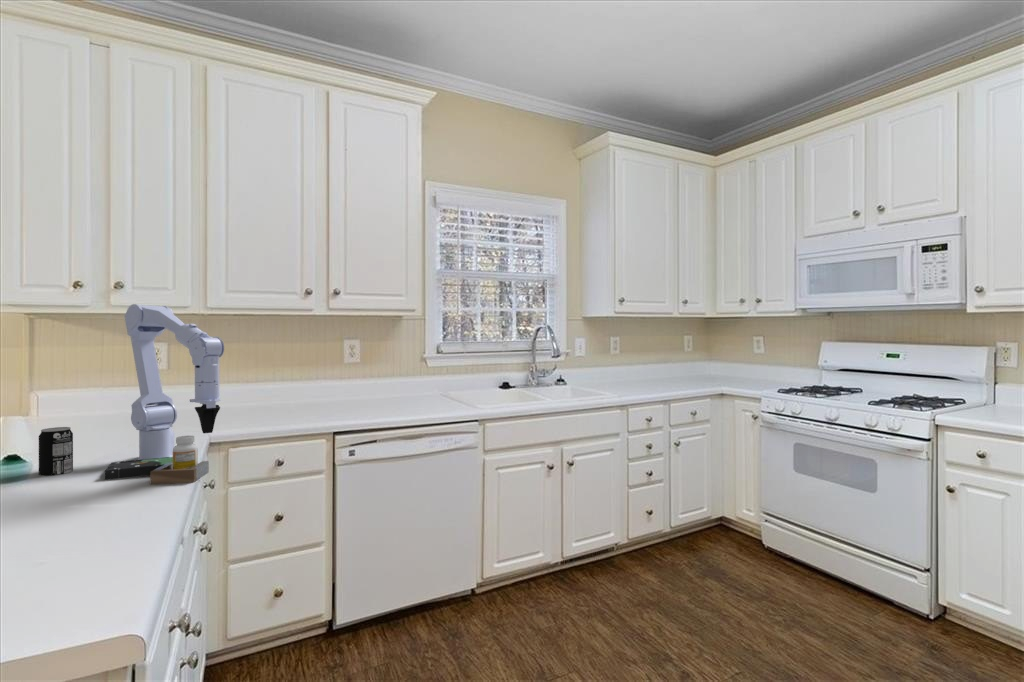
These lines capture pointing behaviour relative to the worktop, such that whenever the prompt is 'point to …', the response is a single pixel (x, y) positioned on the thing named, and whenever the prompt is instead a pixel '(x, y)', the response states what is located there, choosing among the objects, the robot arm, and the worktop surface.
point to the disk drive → (135, 467)
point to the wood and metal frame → (178, 473)
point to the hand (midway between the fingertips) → (207, 432)
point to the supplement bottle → (185, 453)
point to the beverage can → (55, 451)
